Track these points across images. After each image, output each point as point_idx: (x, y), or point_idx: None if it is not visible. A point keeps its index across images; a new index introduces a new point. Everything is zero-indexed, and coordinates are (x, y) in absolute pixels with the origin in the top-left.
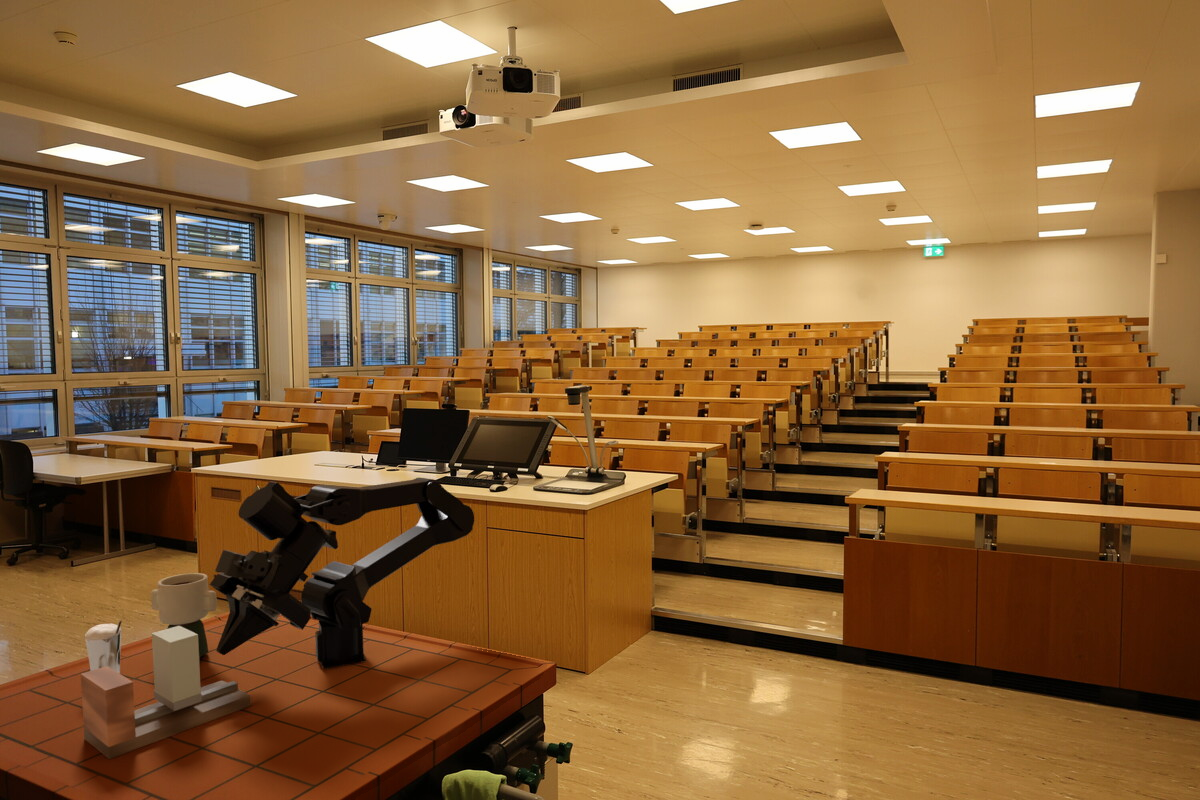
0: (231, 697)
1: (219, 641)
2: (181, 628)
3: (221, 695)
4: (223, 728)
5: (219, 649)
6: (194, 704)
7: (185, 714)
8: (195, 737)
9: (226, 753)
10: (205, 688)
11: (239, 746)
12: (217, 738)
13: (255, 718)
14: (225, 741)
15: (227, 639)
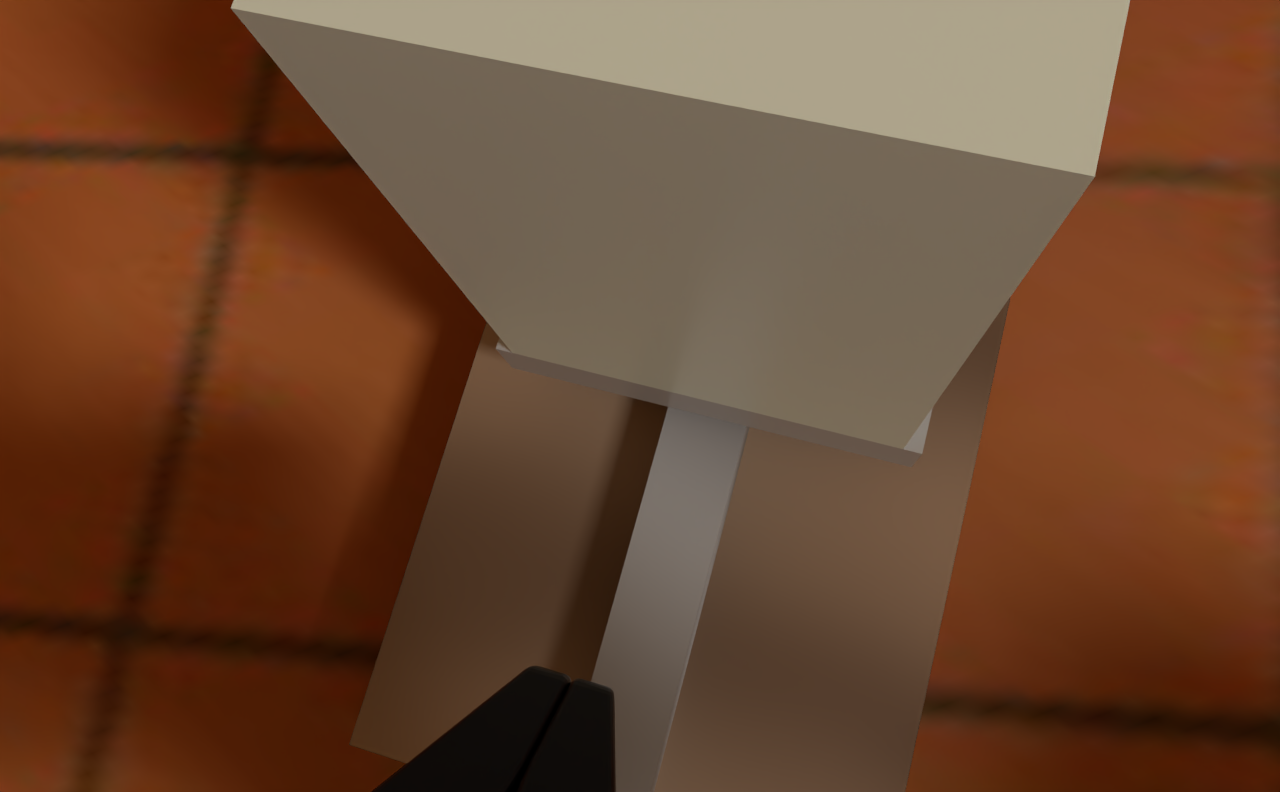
0: (470, 642)
1: (608, 780)
2: (864, 84)
3: (585, 636)
4: (309, 381)
5: (527, 676)
6: (663, 420)
7: None
8: (393, 222)
9: (57, 168)
10: (859, 696)
11: (37, 255)
12: (244, 269)
13: (196, 582)
14: (165, 263)
15: (392, 777)
